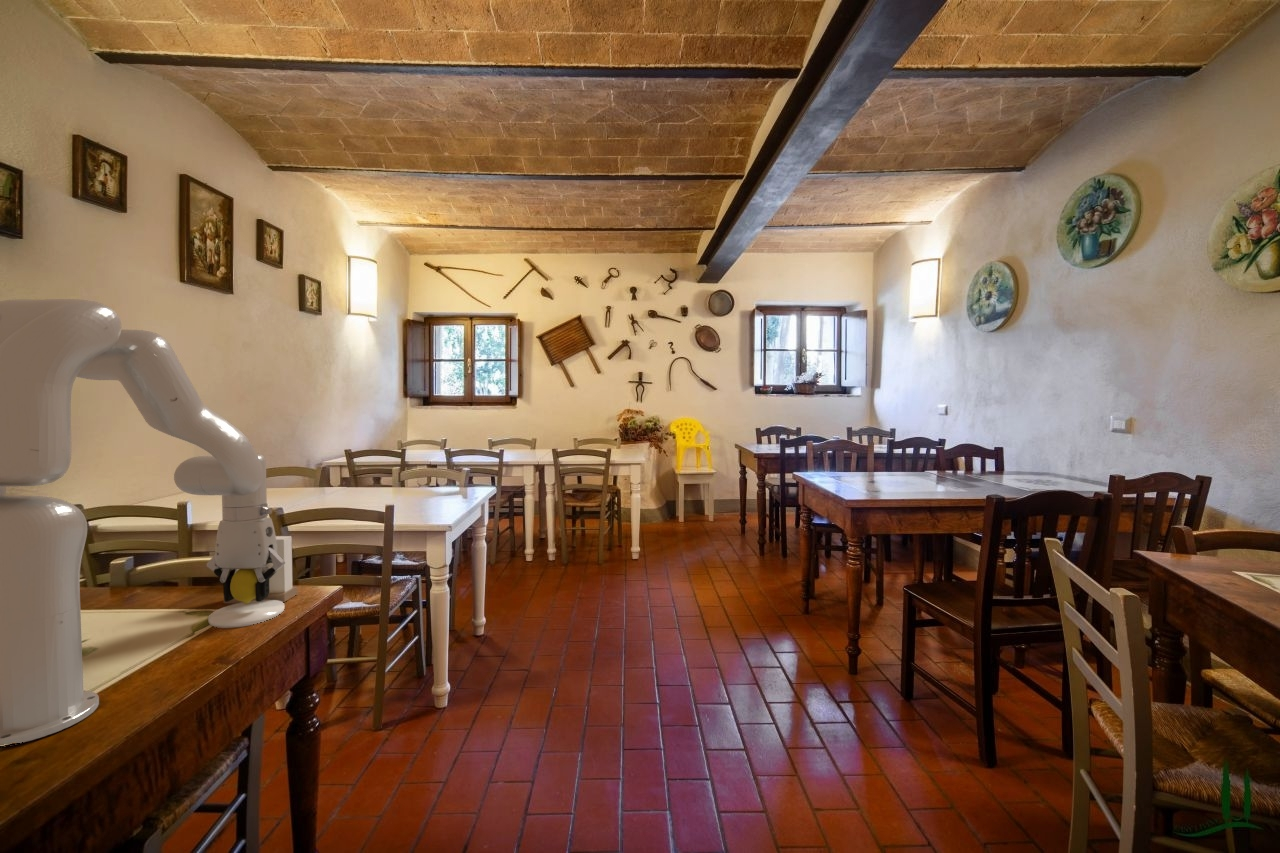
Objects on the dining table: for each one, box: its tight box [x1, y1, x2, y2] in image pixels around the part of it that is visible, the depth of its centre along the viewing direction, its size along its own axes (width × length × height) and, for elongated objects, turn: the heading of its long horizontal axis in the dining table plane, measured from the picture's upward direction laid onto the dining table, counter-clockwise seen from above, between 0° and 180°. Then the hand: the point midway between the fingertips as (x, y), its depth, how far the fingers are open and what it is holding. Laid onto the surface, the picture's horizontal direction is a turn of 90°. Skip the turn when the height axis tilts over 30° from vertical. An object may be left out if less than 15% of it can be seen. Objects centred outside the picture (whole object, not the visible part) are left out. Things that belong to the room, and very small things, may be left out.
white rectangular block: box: [223, 535, 298, 604], centre depth 125 cm, size 5×13×14 cm, turn 93°
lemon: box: [230, 569, 259, 604], centre depth 115 cm, size 6×6×8 cm
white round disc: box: [207, 600, 286, 629], centre depth 116 cm, size 13×13×1 cm
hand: (246, 598), depth 115 cm, fingers closed on lemon, 5 cm apart
